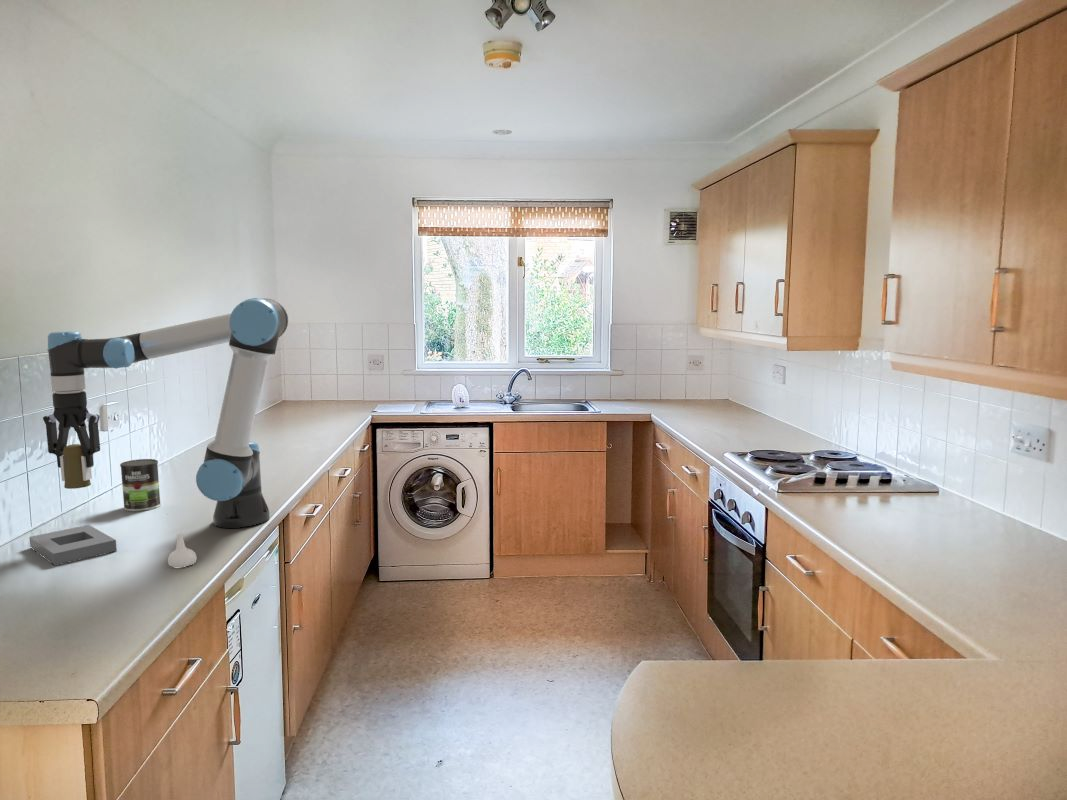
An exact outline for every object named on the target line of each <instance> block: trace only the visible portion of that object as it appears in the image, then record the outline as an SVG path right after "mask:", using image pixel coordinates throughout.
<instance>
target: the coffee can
mask: <svg viewBox="0 0 1067 800" xmlns="http://www.w3.org/2000/svg"><path fill="white" fill-rule="evenodd" d="M158 465H159V460H157V459H154V458H153V459H152V458H139V459H132V460H128V461H123V462H120V470H121V471H120V473H121V474H120V475H121V484H122V497H123V510H125V511H126V512H144V511H143V510H145V511H150V509H151V510H154V509H158V508H159V507H161V505H162V503H161V493H160V492H161V491H160V477H159V466H158Z"/></svg>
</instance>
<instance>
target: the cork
mask: <svg viewBox="0 0 1067 800" xmlns="http://www.w3.org/2000/svg"><path fill="white" fill-rule="evenodd" d="M63 454H64V456H65V457H66V468H65V481H64V485H63V487H64V489H70V490H75V489H82V488H86V487H89V486H91V485H92V483H91V479H89V480H87V481H83V473H82V461H81V456H83V454H84V453H83V450H82V447H81V444H80V443H75V444H72V443H71V444H67V446H66V447H64V449H63Z"/></svg>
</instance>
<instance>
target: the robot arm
mask: <svg viewBox="0 0 1067 800" xmlns="http://www.w3.org/2000/svg"><path fill="white" fill-rule="evenodd" d="M288 325H289V316H288V313H287V310H286V309H285V307H284V306H283V305H282V304H280V303H279V302H278V301H276V300H274V299H271V298H258V297H254V298H252V297H251V298H247V299H245V300H243V301H241V302H240V303H239V304H237V305H236V306H235V307H234V308H233V310H232V312H231V313H227V314H222V315H218V316H212V317H207V318H203V319H198V320H195V321H194V320H193V321H190V322H185V323H184V322H183V323H180V324H175V325H171V326H165V327H162V328H156V329H152V330H149V331H148V330H147V331H142V332H137V333H133V334H129V335H124V336H118V337H109V338H92V339H91V338H90V339H88V338H83V336H82V335H81V332H79V331H73V330H72V331H71V330H70V331H66V330H65V331H52V332H49V334H48V335H47V352H48V361H49V369H50V385H51V391H52V392H53V393H52V404H53V405H52V406H53V407H54V411H53V413H52V414H48V415H44V416H43V417H42V420H43V422H44V424H45V431H46V432H45V433H46V441H47V442H46V443H47V452H48V453H49V454H53V455H55V456H56V461H57V462H56V464H57V468H58V469H59V468H60V473H61V482H65V468H66V457H65V456H64V454H63V449H64V447H66V446H68V440H69V439H68V438H69V434H70V433H69V432H70V430H71V428H73V430H74V432H75V433H76V435H77V438H78V441H79V444H81V447H82V450H83V453H84V454H83V456H81V461H82V473H83V481H87V480H89V479H90V480H91V479H93V475H92V467H94V454H96V453H98V452H100V451H101V443H100V441H101V440H100V431H99V421H100V415H99V414H93V413H91V412H89V410H88V408H87V404H88V402H87V401H88V400H87V392H86V391H85V389H86V378H85V369H121V368H129V367H130V366H132V364H135V363H139V362H143V361H147V360H151V359H156V358H161V357H165V356H170V355H174V354H179V353H185V352H188V351H192V350H193V351H194V350H198V349H203V348H208V347H212V346H216V345H217V346H218V345H222V344H226V343H228V346H229V347H230V349H231V350H232V353H233V354H232V358H231V362H230V367H229V372H228V377H227V381H226V386H225V390H224V391H225V392H224V396H223V399H222V400H223V401H222V405H221V409H220V413H219V419H218V424H217V426H216V427H217V428H216V433H215V437H214V440H212V441H210V442H209V443H207V446H206V451H205V455H204V458H203V463H202V464H201V465H200V467H199V468H198V470H197V472H196V475H195V482H196V486H197V488H198V490H199V492H200V493H202V495H203V496H204V497H206V498H207V499H210V500H212V501H216V504H215V508H214V512H213V517H212V518H213V520H212V521H213V525H214V526H215V525H216V526H215V527H217V526H218V528H222V527H223V528H222V529H224V528H225V529H239V528H240V527H242V528H247V527H246V526H249V527H252V526H251V525H254V526H257V525H256V524H258V525H260V524H259V523H261V524H264V523H266V522H267V521H269V519H270V508H269V507H268V504H267V501H266V500H265V497H264V495H263V491H262V476H261V475H262V472H261V460H260V459H261V458H260V454H261V451H260V446H259V444H258V442H256V441H250V440H251V436H252V431H253V427H254V423H255V418H256V414H257V408H258V404H259V400H260V394H261V392H262V391H261V390H262V385H263V381H264V379H265V378H264V377H265V373H266V369H267V368H266V367H267V363H268V360H270V358H272V357H273V356H275V355H276V350H277V346H278V341H279V338H280V337H282V336H283V335H284V333H285V332H286V331H287V329H288ZM56 421H57V422H58V428H57V423H56ZM85 421H86V422H87V423H88V425H86V422H85ZM87 429H88V431H87ZM57 430H58V431H57ZM265 521H266V522H265ZM263 522H264V523H263Z"/></svg>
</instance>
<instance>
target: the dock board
mask: <svg viewBox="0 0 1067 800" xmlns="http://www.w3.org/2000/svg"><path fill="white" fill-rule="evenodd" d="M29 547H32V548H33V549H34V550H35V551H37V552H38V553H39V554H41V555H42V556H44V557H45V558H46V559H48V560H49V561H50V562H51V563H50V562H49V561H48V560H47V561H48V562H49V563H50V564H52V563H53V564H54V565H53V564H52V565H53V566H55V565H56V566H58V565H57V564H60V565H62V564H61V563H64V564H66V563H65V562H69V561H73V562H75V561H74V560H77V561H80V560H79V559H81V560H84V559H83V558H86V559H89V558H88V557H90V558H93V557H92V556H94V557H97V556H96V555H99V556H101V555H100V554H103V555H105V554H104V553H107V554H109V553H108V552H111V553H113V552H112V551H116V550H118V549H117V539H115V538H113V537H112V536H109V535H107V534H106V533H104V532H103V531H101V530H99V529H97V528H95V527H94V526H92V525H90V524H86V525H80V526H76V527H71V528H66V529H62V530H57V531H52V532H51V531H50V532H47V533H41V534H38V535H33V536H29ZM34 550H33V551H34ZM35 551H34V552H35ZM37 552H36V553H37ZM116 552H117V551H116ZM38 553H37V554H38ZM39 554H38V555H39ZM41 555H40V556H41ZM42 556H41V557H42ZM45 558H44V559H45ZM46 559H45V560H46ZM69 563H70V562H69Z"/></svg>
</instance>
